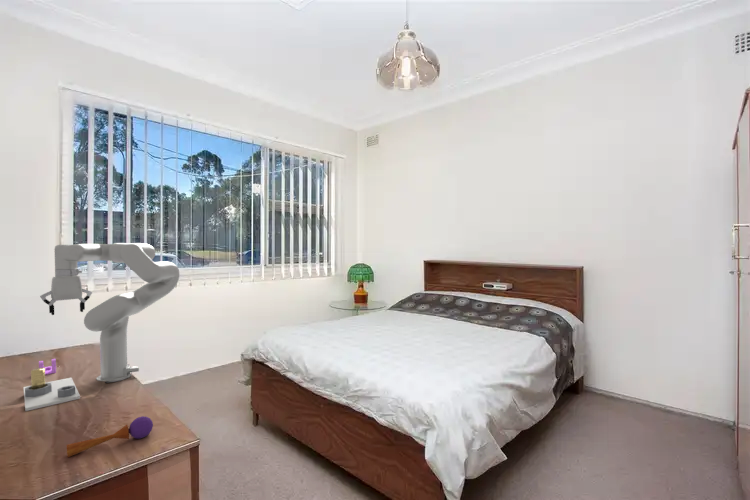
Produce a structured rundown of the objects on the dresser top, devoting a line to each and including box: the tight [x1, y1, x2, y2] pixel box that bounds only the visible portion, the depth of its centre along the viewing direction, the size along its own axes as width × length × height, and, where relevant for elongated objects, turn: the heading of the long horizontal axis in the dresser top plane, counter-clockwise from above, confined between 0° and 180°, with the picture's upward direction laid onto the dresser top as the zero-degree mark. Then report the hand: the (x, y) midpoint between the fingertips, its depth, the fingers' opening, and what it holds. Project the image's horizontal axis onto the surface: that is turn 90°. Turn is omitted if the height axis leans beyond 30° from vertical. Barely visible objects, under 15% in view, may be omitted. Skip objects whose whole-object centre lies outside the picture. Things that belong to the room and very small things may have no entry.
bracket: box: [38, 358, 57, 376], centre depth 171 cm, size 13×6×7 cm, turn 40°
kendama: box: [66, 416, 154, 458], centre depth 108 cm, size 6×6×20 cm
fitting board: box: [23, 377, 81, 412], centre depth 146 cm, size 15×28×4 cm, turn 44°
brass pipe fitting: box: [30, 367, 46, 389], centre depth 144 cm, size 4×4×9 cm
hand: (67, 313), depth 162 cm, fingers open, 9 cm apart
